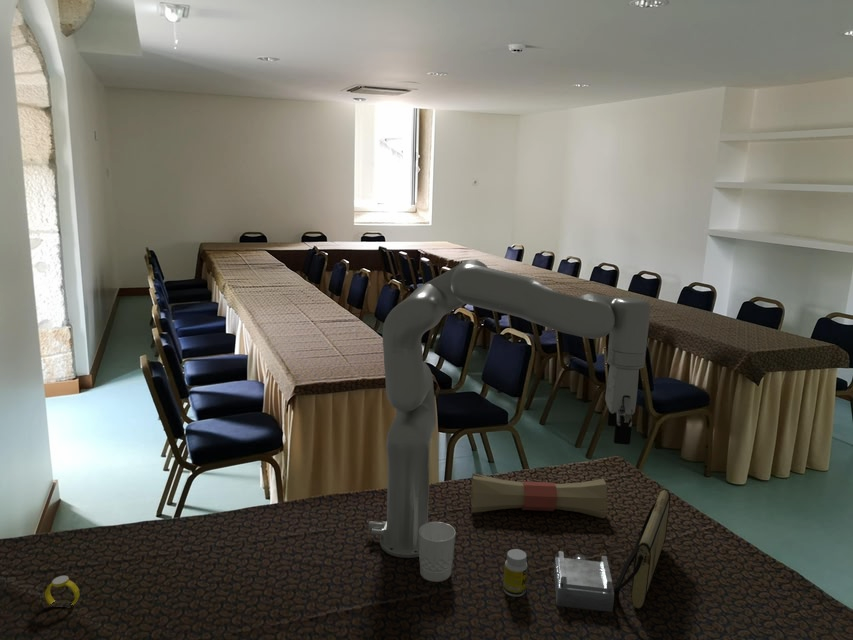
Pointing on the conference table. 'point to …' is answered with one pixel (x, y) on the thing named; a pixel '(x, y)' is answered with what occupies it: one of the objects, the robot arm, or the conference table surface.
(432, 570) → the white cup
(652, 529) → the beige handbag
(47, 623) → the conference table surface
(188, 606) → the conference table surface
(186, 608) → the conference table surface
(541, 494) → the scroll
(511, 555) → the supplement bottle
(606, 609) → the grey drawer with knob
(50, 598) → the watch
